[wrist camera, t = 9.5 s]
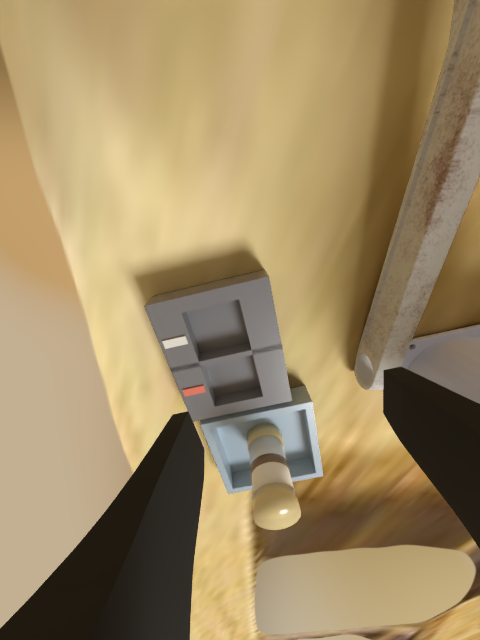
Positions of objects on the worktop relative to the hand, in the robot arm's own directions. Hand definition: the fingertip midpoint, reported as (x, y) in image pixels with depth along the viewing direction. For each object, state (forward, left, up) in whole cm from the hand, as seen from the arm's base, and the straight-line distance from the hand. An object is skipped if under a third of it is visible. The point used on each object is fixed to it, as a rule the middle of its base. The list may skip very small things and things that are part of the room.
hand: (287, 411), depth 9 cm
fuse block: (+3, +2, -10) cm, 11 cm away
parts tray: (+2, +12, -10) cm, 16 cm away
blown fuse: (+2, +12, -10) cm, 15 cm away
